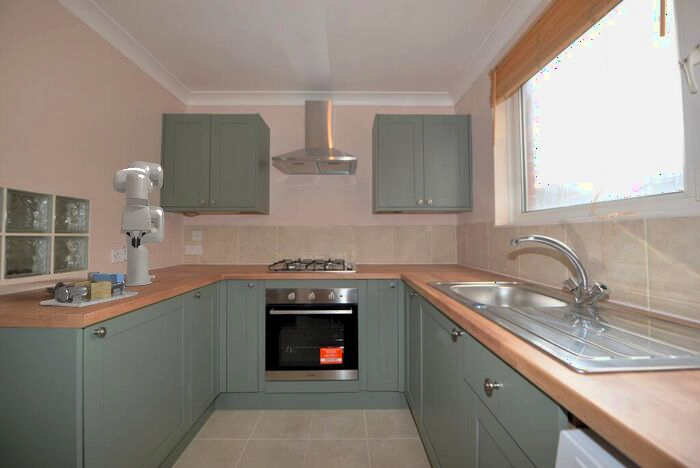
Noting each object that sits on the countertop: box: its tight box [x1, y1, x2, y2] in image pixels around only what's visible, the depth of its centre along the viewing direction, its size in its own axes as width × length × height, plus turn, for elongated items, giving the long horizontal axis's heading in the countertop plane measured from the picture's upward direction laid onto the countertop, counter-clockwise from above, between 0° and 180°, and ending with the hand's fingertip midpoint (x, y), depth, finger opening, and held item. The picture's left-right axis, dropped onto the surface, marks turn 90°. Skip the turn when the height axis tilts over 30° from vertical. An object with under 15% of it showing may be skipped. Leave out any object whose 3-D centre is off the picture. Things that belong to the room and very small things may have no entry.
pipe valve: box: [39, 280, 139, 308], centre depth 122 cm, size 24×18×7 cm
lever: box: [87, 271, 125, 282], centre depth 121 cm, size 15×4×4 cm, turn 79°
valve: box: [45, 281, 75, 294], centre depth 137 cm, size 6×26×15 cm
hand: (136, 247), depth 124 cm, fingers closed
